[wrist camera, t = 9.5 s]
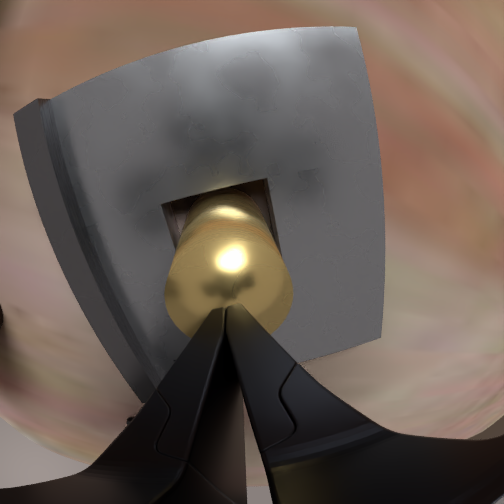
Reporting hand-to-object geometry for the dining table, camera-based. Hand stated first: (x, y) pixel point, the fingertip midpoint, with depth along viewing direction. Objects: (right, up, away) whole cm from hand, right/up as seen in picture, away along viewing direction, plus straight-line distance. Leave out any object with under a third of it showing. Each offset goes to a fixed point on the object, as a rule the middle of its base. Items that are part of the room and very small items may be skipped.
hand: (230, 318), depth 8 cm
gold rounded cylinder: (-1, +3, +7) cm, 8 cm away
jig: (-1, +3, +7) cm, 8 cm away
